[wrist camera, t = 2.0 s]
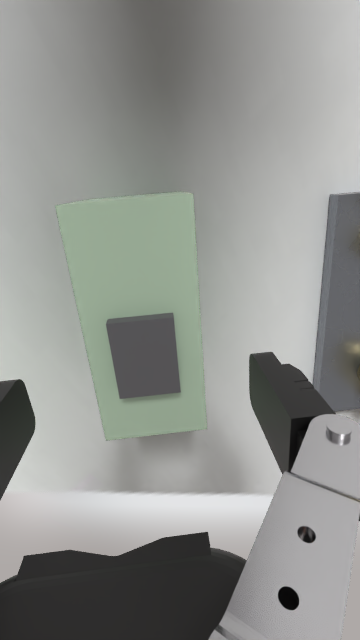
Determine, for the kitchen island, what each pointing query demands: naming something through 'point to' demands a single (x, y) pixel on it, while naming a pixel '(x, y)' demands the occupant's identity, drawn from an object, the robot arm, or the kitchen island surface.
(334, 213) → the metal plate
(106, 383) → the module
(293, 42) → the kitchen island surface
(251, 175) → the kitchen island surface
